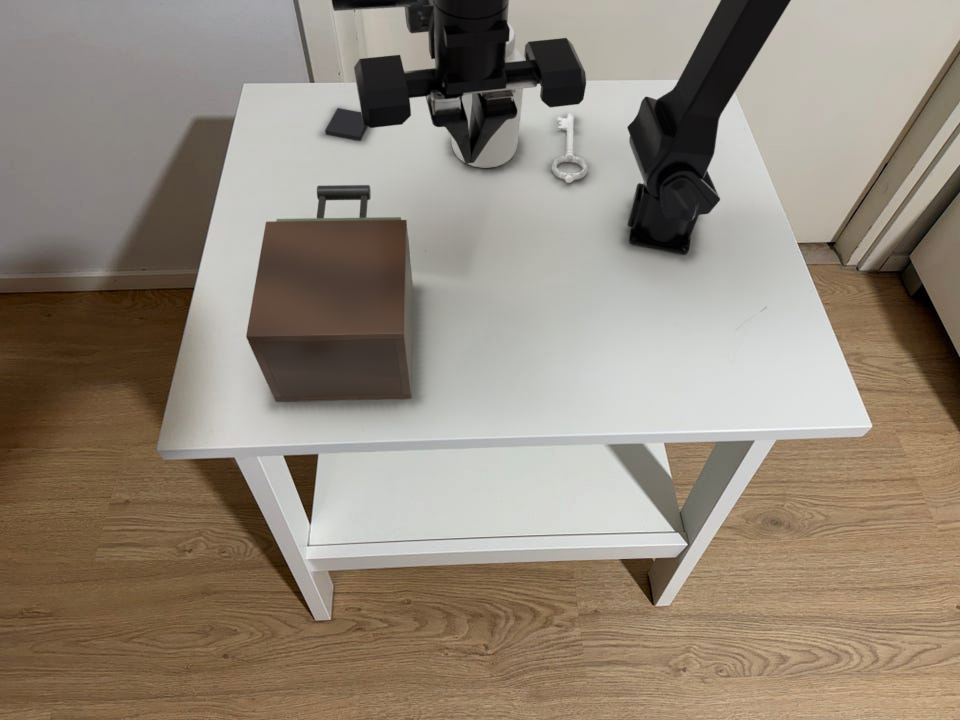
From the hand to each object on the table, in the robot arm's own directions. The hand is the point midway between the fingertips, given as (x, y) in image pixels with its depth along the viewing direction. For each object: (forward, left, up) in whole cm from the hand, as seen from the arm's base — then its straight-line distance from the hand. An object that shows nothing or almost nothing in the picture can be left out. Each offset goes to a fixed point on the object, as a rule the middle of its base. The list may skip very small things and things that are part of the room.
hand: (468, 160), depth 66 cm
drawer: (+9, +11, -11) cm, 18 cm away
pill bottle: (+2, -16, -12) cm, 20 cm away
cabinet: (+8, +15, -12) cm, 21 cm away
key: (-8, -18, -12) cm, 23 cm away
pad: (+19, -15, -12) cm, 27 cm away
